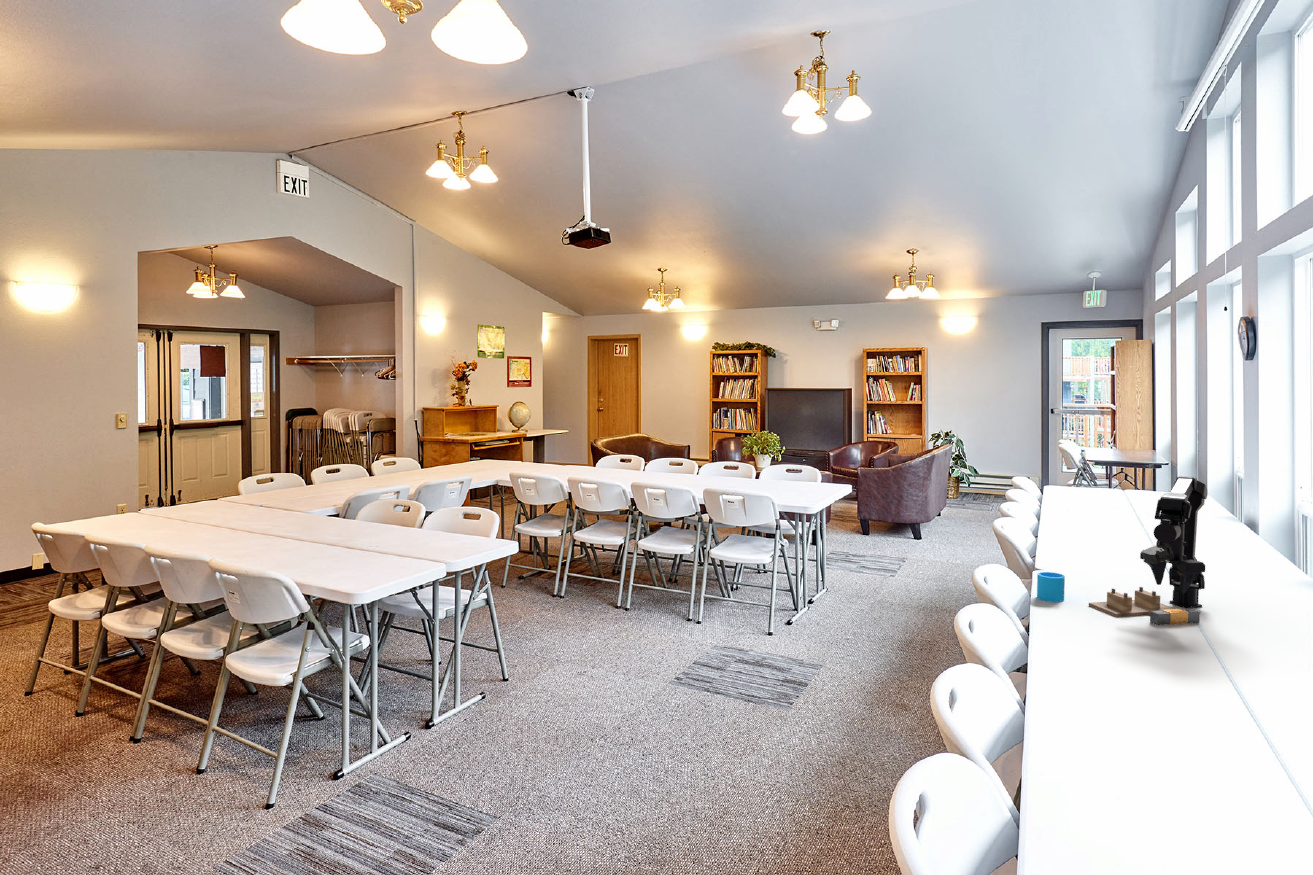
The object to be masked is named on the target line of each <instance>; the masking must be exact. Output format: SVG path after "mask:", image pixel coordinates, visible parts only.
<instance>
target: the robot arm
mask: <svg viewBox="0 0 1313 875" xmlns="http://www.w3.org/2000/svg"><path fill="white" fill-rule="evenodd" d="M1207 498H1208V487H1207V485H1206V484H1205V483H1203V482H1202V481H1200V480H1198V479H1197V477H1194V476H1189V475H1188V476H1186V475H1185V476H1183V475H1179V476H1176V480H1175V481H1174V482H1173V488H1172V489H1171V491H1170V492H1169V493H1167V492H1166V493H1164V494H1162V495H1161V496H1160V498H1158V500H1157V504H1156V509H1155V512H1154V513H1155V514H1154V519H1155V520H1159V521H1160V522H1159V524H1158V525H1156V526H1155V527H1154V529H1153V536H1154V538H1155V539H1156V545H1154V546H1151V547H1148V548H1146V549H1142V550H1141V551H1140V553H1139V554H1140V556H1139V557H1140V560H1142V562H1144V563H1145V564H1146V565H1147V566H1149V567H1150V569H1151V572H1152V575H1153V577H1154V581H1155V583H1156V585H1157V586H1160V585H1161V584H1162V583H1163V579H1164V575H1165V571H1166V568H1167V563H1168V564H1171V566H1169V571H1168V579H1169V586H1173V590H1172V600H1169V603H1171V604H1173V605H1176V606H1179V607H1182V608H1184V609H1189V608H1201V607H1203V604H1200V603H1199V590H1204V589H1205V588H1206V587H1205V586H1206V582H1205V575H1204V574H1203V573H1205V572H1206V564H1205V563H1204V562H1203V561H1201V560H1200V561H1199V560H1198V559H1197V557H1196V547H1197V546H1196V543H1197V529H1198V513H1199V511H1200V509H1201V508H1202V507H1203V506H1204V505H1205V502H1206V501H1205V500H1207Z"/></svg>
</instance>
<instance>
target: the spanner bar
mask: <svg viewBox="0 0 1313 875" xmlns="http://www.w3.org/2000/svg"><path fill="white" fill-rule="evenodd" d="M1200 613H1201V612H1200V611H1199V610H1196V609H1194V608H1183V609H1182V608H1176V609H1166V610H1162V611H1150V615H1149V616H1150V617H1149V622H1150V624H1153V623H1154V624H1153V625H1155V624H1156V626H1171V625H1172V626H1173V625H1185V624H1186V625H1187V624H1200Z"/></svg>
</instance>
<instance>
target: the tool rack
mask: <svg viewBox="0 0 1313 875" xmlns="http://www.w3.org/2000/svg"><path fill="white" fill-rule="evenodd" d="M1138 588H1139V589H1137V590H1134V599H1133V597H1131V596H1129V594H1128V593H1127V592H1124V593H1121V592H1117V591H1116V588H1111V591H1107V592H1106V601H1098V602H1097V601H1095V602H1088V607H1090V608H1093V609H1095V610H1098V611H1101V612H1102V613H1103V612H1104V613H1105V614H1107V615H1110V616H1113V617H1116V618H1118V617H1119V618H1120V617H1121V618H1122V617H1133V616H1134V617H1135V616H1136V617H1137V616H1150V611H1162V610H1166V609H1177V608H1175V607H1173V606H1171V605H1166V604H1164V603H1161V595H1159V594H1157V591H1154V590H1152V591H1151V592H1150V591H1147V590H1144V587H1143V586H1139V587H1138Z"/></svg>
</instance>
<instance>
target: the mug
mask: <svg viewBox="0 0 1313 875" xmlns="http://www.w3.org/2000/svg"><path fill="white" fill-rule="evenodd" d="M1065 577H1066V576H1065V575H1064V574H1062V573H1058V572H1049V571H1042V572H1037V576H1036V579H1037V582H1036V598H1037V599H1038V600H1040V601H1043V602H1049V603H1062V602H1064V601H1065V588H1066V587H1065V582H1066V579H1065Z"/></svg>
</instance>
